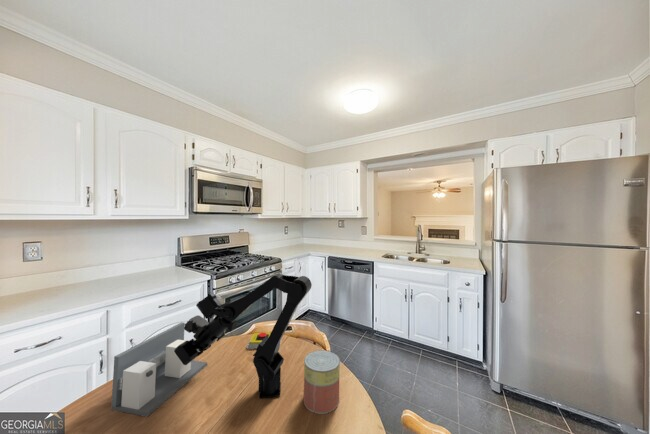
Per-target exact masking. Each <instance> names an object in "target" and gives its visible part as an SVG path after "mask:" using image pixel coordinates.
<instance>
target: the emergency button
mask: <svg viewBox="0 0 650 434" xmlns="http://www.w3.org/2000/svg"><path fill="white" fill-rule="evenodd" d="M270 334H271V332H255V333H253V334H252V335H251V337H250V339H251V340H250V339H249V340H250V341H249V340H248V343H247V345H246V347H245V349H246V348H247V349H246V350H254V349H255V350H257V347H258V345H259V344H260V342H261V341H262V340H263V339H264V338H265V337H266V336H267V337H268V338H269V336H270ZM248 344H249V345H248Z"/></svg>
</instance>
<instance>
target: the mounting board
mask: <svg viewBox="0 0 650 434" xmlns="http://www.w3.org/2000/svg"><path fill="white" fill-rule="evenodd" d="M185 324H186V323H185V322H182V321H181V322H180V323H179V322H178V323H177V324H175V325H173V326H172V327H170V328H168V329H165V330H163V331H162V332H160V333H158V334H156V335H154V336H151V337H150V338H148V339H146V340H144V341H142V342H140V343H139V344H136V345H134V346H131V348H128V349H126V350H125V351H122V352H121V353H119V354H118V353H117V354H116V355H115V356H114V357H113V359H114V360H113V373H112V389H111V391H112V392H111V406H110V407H111V408H110V410H111V411H114V412H115V411H116V412H122V413H124V414H125V413H127V414H131V415H136V416H142V417H146V418H147V417H149V416H150V415H151V414H152V413H154V411H156V410H157V409H158V408H159V407H161V405H163V404H164V403H165V402H166V401H167V400H169V399H170V398H171V397H172V396H173V395H174V394H176V392H178V391H179V390H180V389H182V387H184V386H185V385H186V384H187V383H188V382H190V381H191V380H192V379H193V378H194V377H195V376H197V375H198V374H199V373H200V372H201V371H202V370H203V369H205V367H206V366H208V362H207V361H199V360H195V359H194V360H192V361H191V370H189V371H188V372H187V373H186V374H184V375H183V376H182V377H181V378H175V377H168V376H165V362H163V363H162V364H160V365H159V366H157V367H156V379H155V397H154V398H153V399H151V400H150V401H149V402H148V403H146V404H145V405H144V406H143V407H141V408H140V409H139V410H138V409H132V408H127V407H122V406H121V401H122V390H118V389H119V379H120V378H122V377H123V371H124V370H125V369H127V368H129V367H131V366H132V365H134V364H136V363H137V362H139V361H144V362H148V361H149V360H151V359H153V358H154V357H156V356H158V355H159V354H161V353H163V352H164V351H166V346H168V345H169V344H171V343H173V342H174V341H176V340H185V329H184V327H185Z"/></svg>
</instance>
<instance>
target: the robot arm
mask: <svg viewBox="0 0 650 434" xmlns="http://www.w3.org/2000/svg"><path fill="white" fill-rule="evenodd" d="M312 285H313V284H312V281H311V279H310V278H308V276H305V275H302V276H295V275H287V274H286V275H285V274H282V273H276V274H274V275H272V276H270V278H269V279H268V280H266V281H264V282H263V283H262V284H260V285H259V286H257V287H256V288H254V289H253V290H252V291H250V292H248V294H246V295H243V296H241V297H238V298H236V299H234V300H232V301H227V302H224V303H222V302H221V301H220V299H218V297H217V296H216V293H214V292H212V293H209V294H208V295H207V296H206V297H204V298H202V300H199V301H198V302H197V303H196V308H197V309H198V310H199V312H200V313H201V314H202V316H204V317H202V316H201V315H195V316H193V317H191V318H189V320H187V322H186V323H185V327H184V331H186V332H188V333H192V334H194V335H193V336H192V337H193V338H191V339H189V340H186V341H185V342H184V343H182V344H180V345H179V346H178V347H177V348H176V349H175V351H174V352H175V353H176V355H177V356H178V358H179V359H180V360H181V362H182V363H183V365H187V364H189V363H190V362H191V361H192V360H194V361H195V359H196V358H197V357H199V356H200V355H202V354H203V353H204V352H205V351H207V350H208V349H209V348H211V347H212V345H213V344H215V342H219V341H220V340H221V339H222V338H224V337H225V335H226V333H225V331H226V330H228V331H229V332H233V330H235V329H236V328H237V327H238V324H237V320H236V319H238V318H239V317H241V316H242V315H244V314H245V313H246V312H247V311H248V310H249V309H250V308H251V306H253V304H255V303H256V302H257V301H258V300H260V299H262V298H263V297H265V296H266V295H268V294H269V293H271V292H272V291H273V290H275V289H276V290H279V291H281V292H282V293H285V294H286V299H285V300H286V302H285V304H284V305H283V307H282V310H281V311H280V314H279V316H278V318H277V320H276V322H275V324H274V326H273V328H272V330H271V331H270V333H271V334H270V336H269V338H268V337H267V336H266V337H265V338H264V339H263V340H262V341H261V342H260V344H259V345H258V347H257V349H255V350H256V351H255V352H254V353H253V355H252V357H253V359H252V363H253V366H254V367H255V371H256V373H257V377H258V391H257V392H258V393H259V399H267V398H276V397H280V396H281V392H282V391H281V390H282V389H281V388H282V387H281V386H282V383H281V382H282V381H281V378H282V377H281V375H282V373H281V371H282V365H283V364H284V360H285V358H284V357H283V356H282V355H281V354H280V352H279V351H280V348H281V346H280V341H281V342H282V340H281V339H283V337H284V335H285V332H286V330H287V328H288V326H289V325H290V323H291V320H292V318H293V317H294V314H295V313H296V311H297V309H298V306H299V305H300V303H301V302H302V301H303V299H304V298H305V297H306V296H307V294H308V293H309V292H310V291H311V290H312ZM208 319H212V320H210V322H209V321H208Z"/></svg>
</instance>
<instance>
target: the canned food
mask: <svg viewBox="0 0 650 434" xmlns="http://www.w3.org/2000/svg"><path fill="white" fill-rule="evenodd" d="M303 361H304V364H303V365H304V371H303V372H304V373H303V374H304V377H303V404H304V406H305V407H306V409H307V410H308V411H310V412H311V413H314V412H315V414H319V415H324V414H329V413H331V411H332V410H333V411H335V410H336V409H337V408H338V407H339V405H338V403H339V404H340V376H341V375H340V368H341V366H340V365H341V364H340V363H341V359H340V357H339V356H338V355H337V354H336V353H335V352H332V351H329V350H322V349H321V350H314V351H311V352H310V353H308V354H306V356H304V359H303ZM336 407H337V408H336ZM335 408H336V409H335ZM334 409H335V410H334ZM333 411H332V412H333ZM328 412H329V413H328Z"/></svg>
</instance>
